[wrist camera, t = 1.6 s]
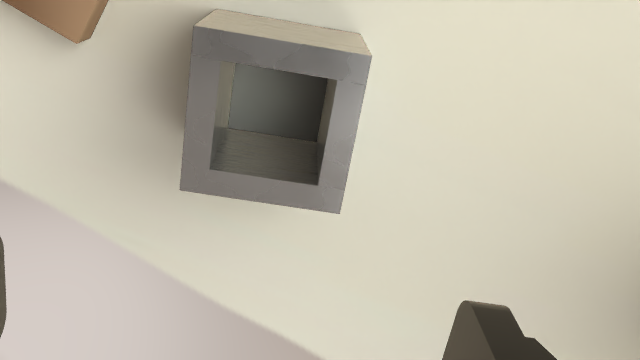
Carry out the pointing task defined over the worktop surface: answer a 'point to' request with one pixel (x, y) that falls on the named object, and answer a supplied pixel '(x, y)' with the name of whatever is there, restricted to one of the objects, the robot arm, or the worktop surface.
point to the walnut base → (64, 15)
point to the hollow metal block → (262, 149)
